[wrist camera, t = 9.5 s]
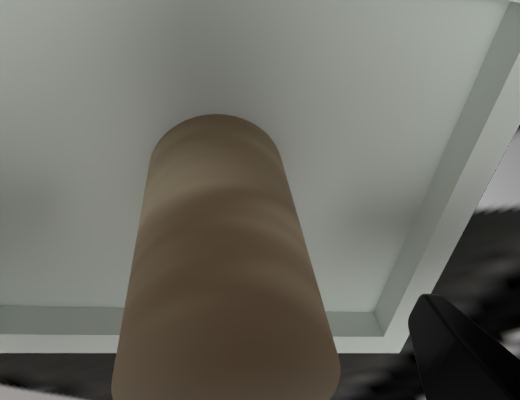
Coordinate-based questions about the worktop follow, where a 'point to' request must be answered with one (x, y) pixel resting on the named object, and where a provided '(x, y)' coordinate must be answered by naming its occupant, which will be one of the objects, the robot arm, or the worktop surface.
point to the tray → (265, 117)
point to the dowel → (222, 277)
